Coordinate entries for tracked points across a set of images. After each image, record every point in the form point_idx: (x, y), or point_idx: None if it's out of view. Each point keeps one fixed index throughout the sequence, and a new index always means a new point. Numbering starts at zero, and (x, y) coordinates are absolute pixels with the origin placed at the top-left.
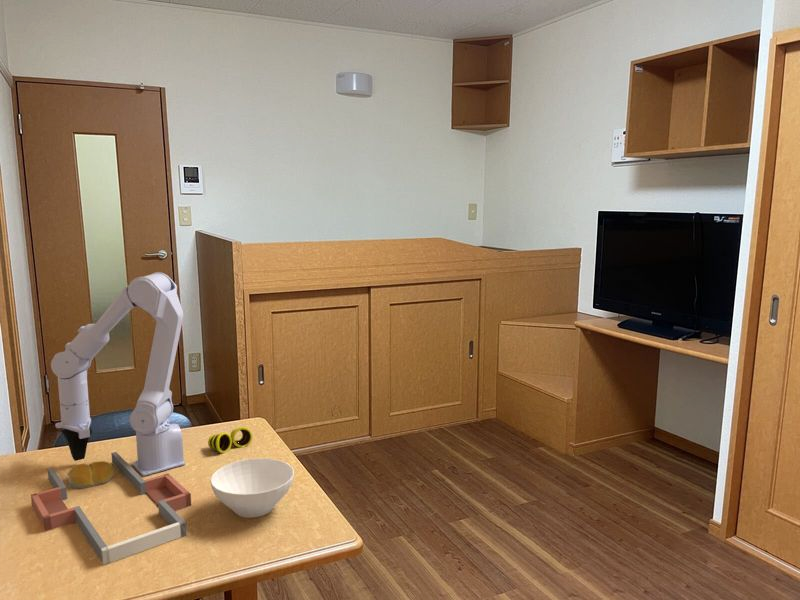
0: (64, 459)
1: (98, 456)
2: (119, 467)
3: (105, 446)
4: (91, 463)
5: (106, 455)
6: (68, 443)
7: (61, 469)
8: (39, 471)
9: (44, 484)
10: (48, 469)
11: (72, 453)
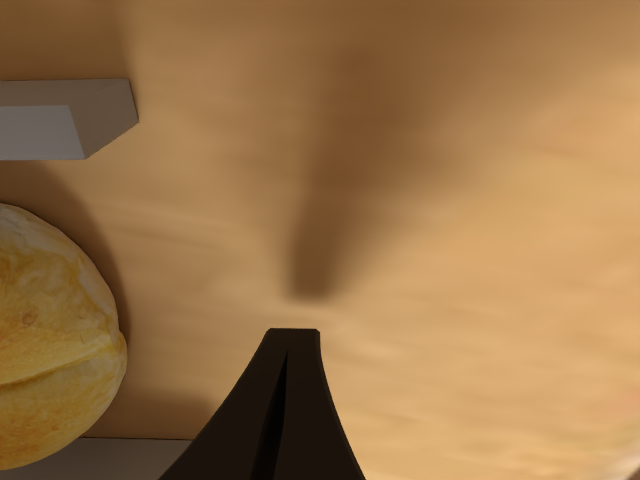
0: (507, 268)
1: (378, 420)
2: (55, 459)
3: (512, 473)
4: (7, 409)
5: (360, 447)
6: (283, 457)
7: (306, 210)
8: (392, 43)
9: (30, 26)
10: (37, 112)
11: (241, 376)
